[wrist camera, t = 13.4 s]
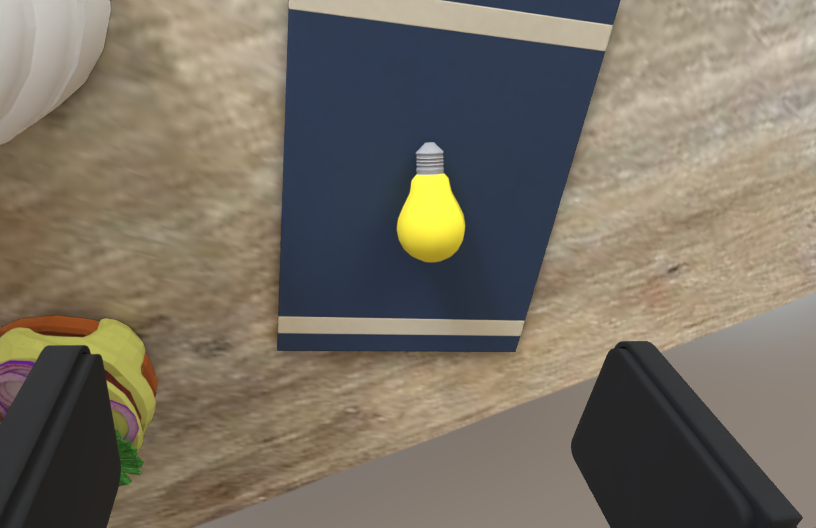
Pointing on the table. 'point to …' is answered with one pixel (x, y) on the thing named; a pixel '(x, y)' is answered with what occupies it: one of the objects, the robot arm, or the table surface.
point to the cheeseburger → (123, 362)
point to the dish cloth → (396, 163)
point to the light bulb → (431, 211)
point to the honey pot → (45, 56)
